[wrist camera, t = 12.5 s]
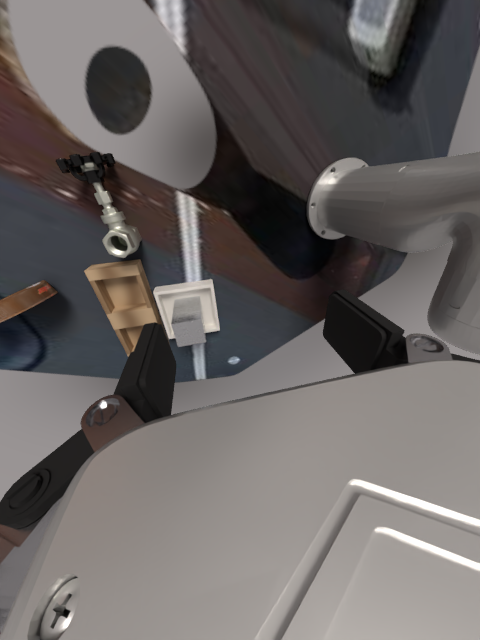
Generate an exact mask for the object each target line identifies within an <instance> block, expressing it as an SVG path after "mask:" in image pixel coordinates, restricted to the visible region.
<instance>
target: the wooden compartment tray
mask: <svg viewBox="0 0 480 640" xmlns="http://www.w3.org/2000/svg"><path fill="white" fill-rule="evenodd" d="M84 272H85V274H86V276H87V278H88V279H89V281H90V283H91V285H92V287H93V289H94V291H95V293H96V295H97V297H98V299H99V301H100V303H101V305H102V307H103V309H104V311H105V312H106V314H107V316H108V318H109V320H110V322H111V324H112V326H113V328H114V330H115V332H116V334H117V336H118V338H119V340H120V342H121V343H122V345H123V347H124V349H125V351H126V353H127V355H128V357H129V355H130V353H131V352H133V351H134V349H135V347H136V344H137V341H138V339H139V336H140V334H141V331H142V329H143V326H144V324H148V323H154V322H157V324H161V325H162V327H163V324H162V321H161V319H160V316H159V313H158V310H157V307H156V304H155V301H154V298H153V295H152V292H151V289H150V286H149V284H148V281H147V278H146V275H145V272H144V269H143V266H142V263H141V260H140V259H139V260H130V261H122V262H114V263H105V264H97V265H91V266H90V267H89V268H87V269H86V270H85V271H84ZM163 330H164V327H163ZM164 332H165V330H164ZM165 335H166V333H165ZM166 337H167V336H166ZM167 340H168V339H167ZM168 343H169V342H168Z"/></svg>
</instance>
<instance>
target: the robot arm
mask: <svg viewBox="0 0 480 640" xmlns="http://www.w3.org/2000/svg"><path fill="white" fill-rule="evenodd" d="M311 204H312V206H311ZM307 218H308V222H309V225H310V227H311V229H312V230H313V231H314V232H315V233H316V234H317V235H318V236H320V237H322V238H326V239H338V238H341V237H344V236H346V235H347V236H351V237H354V238H358V239H361V240H364V241H368V242H371V243H374V244H378V245H381V246H384V247H388V248H391V249H395V250H398V251H403V252H422V251H427V250H430V249H434V248H436V247H439V246H442V245H445V244H447V243H449V242H451V241H453V246H452V249H451V252H450V255H449V257H448V260H447V261H448V262H447V265H446V267H445V269H444V272H443V274H442V277H441V279H440V281H439V284H438V286H437V289H436V291H435V293H434V296H433V298H432V301H431V303H430V306H429V309H428V315H427V318H428V323H429V326H430V328H431V329H432V331H433V332H434V333H435V334H436V335H437V336H438V337H440V338H441V339H442V340H444V341H446V342H447V343H449V344H451V345H454V346H455V347H458V348H460V349H463V350H466V351H469V352H472V353H475V354H479V355H480V152H475V153H469V154H463V155H456V156H449V157H441V158H434V159H427V160H419V161H411V162H403V163H395V164H387V165H380V166H372V167H369V166H368V165H367V164H366V163H365V162H364V161H362V160H360V159H357V158H345V159H341V160H338V161H336V162H334V163H332V164H331V165H329V166H328V167H327V168H326V169H324V170H323V172H322V173H321V174H320V175H319V176H318V178H317V179H316V181H315V182H314V184H313V186H312V189H311V191H310V194H309V197H308V202H307ZM403 333H404V330H403V329H402V328H400V327H399V326H397V325H396V324H394V323H393V322H391V321H390V320H388V319H387V318H386V317H384V316H383V315H381V314H380V313H378V312H377V311H375V310H374V309H372V308H371V307H369V306H368V305H367V304H365V303H364V302H362V301H361V300H359V299H358V298H356V297H355V296H353V295H352V294H350V293H349V292H347V291H346V290H339V291H334V292H333V293H332V294H331V295H330V296H329V301H328V306H327V312H326V318H325V323H324V329H323V336H324V338H325V339H326V340H327V342H328V343H329V344H330V345H331V346H332V347H333V348H334V350H335V351H336V352H337V353H338V354H339V355H340V357H341V358H342V359H343V360H344V361H345V363H346V364H347V365H348V366H349V367H350V368H351V370H352V371H353V372H354V373H355V374H352V375H347V376H342V377H337V378H333V379H328V380H323V381H319V382H314V383H309V384H305V385H301V386H296V387H292V388H287V389H282V390H278V391H273V392H268V393H264V394H260V395H255V396H251V397H246V398H242V399H237V400H232V401H228V402H224V403H219V404H215V405H210V406H206V407H202V408H198V409H193V410H190V411H185V412H181V413H177V414H173V415H171V409H172V399H173V391H174V383H175V374H176V361H175V358H174V356H173V353H172V350H171V348H170V345H169V343H168V340H167V337H166V335H165V332H164V330H163V327H162V325H161V324H157V322H154V323H148V324H144V326H143V329H142V331H141V334H140V336H139V339H138V341H137V344H136V347H135V349H134V351H133V352H131V353H130V355H129V357H128V360H127V362H126V365H125V367H124V369H123V372H122V374H121V377H120V379H119V382H118V385H117V387H116V389H115V392H114V394H113V395H109V396H106V397H103V398H101V399H99V400H98V401H96V402H95V403H94V404H93V405H91V406H90V407H89V408H88V409H87V411H86V412H85V413H84V415H83V417H82V419H81V427H82V429H81V430H80V431H78V432H77V433H76V434H75V435H73V436H72V437H71V438H70V439H68V440H67V441H66V442H65V443H63V444H62V445H61V446H60V447H58V448H57V449H56V450H55V451H54V452H52V453H51V454H50V455H48V456H47V457H46V458H45V459H43V460H42V461H41V462H40V463H38V464H37V465H36V466H35V467H33V468H32V469H31V470H29V471H28V472H27V473H26V474H24V475H23V476H22V477H21V478H20V479H19V480H18V481H17V482H15V483H14V484H13V485H12V487H11V488H10V489H9V490H8V491H7V493H6V494H5V495H4V497H3V499H2V500H1V502H0V640H480V361H479V360H475V359H471V358H467V357H463V356H459V355H455V354H451V353H450V351H449V348H448V347H447V345H446V344H445V343H444V342H442V341H440V340H439V339H437V338H435V337H432V336H429V335H425V334H410V335H408V336H407V337H406V338H405V337H403V336H402V335H403Z"/></svg>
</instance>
